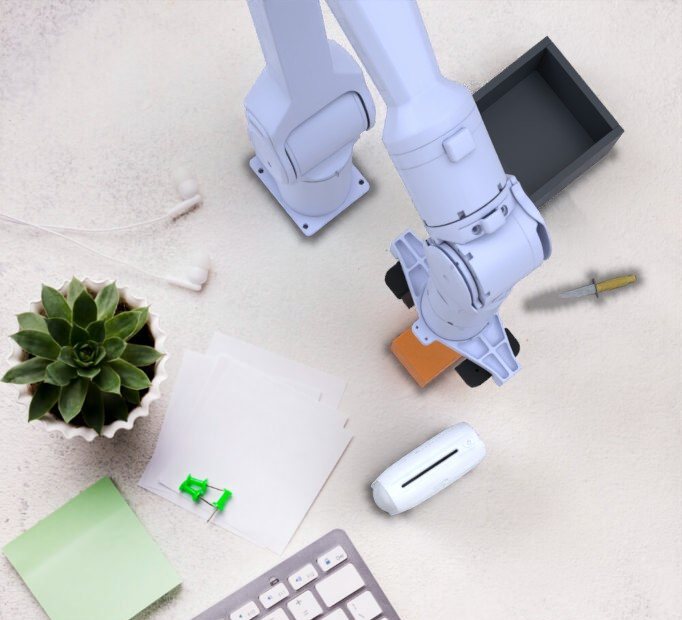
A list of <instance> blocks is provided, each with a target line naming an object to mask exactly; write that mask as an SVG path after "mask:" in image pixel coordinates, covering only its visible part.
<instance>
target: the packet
mask: <svg viewBox="0 0 682 620" xmlns="http://www.w3.org/2000/svg"><path fill="white" fill-rule="evenodd" d="M416 329H417V328H416ZM425 340H426V339H425ZM426 341H427V340H426ZM389 350H390V352H392V353H393V354H394V356H395V357H396V358H397V359H398V361H399V362H400V363H401V364H402V366H403V367H404V368H405V370H406V371H407V372H408V373H409V374H410V376H411V378H413V380H414V381H415V382H416V383H417V385H418V386H419V387H420V388H421V389H423V388H424V387H426V386H427V385H428V384H429V383H431V382H432V381H433V380H434V379H436V378H437V377H438V376H440V375H441V374H442V373H443V372H444V371H446V370H447V369H448V368H450V367H451V366H452V365H453V364H455V363H456V362H457V361H459V360H460V358H462V357H463V356H462V355H461V354H459V353H457V352H456V351H454V350H452V349H451V348H449V347H447V346H446V345H444V344H442V343H441V342H439V341H434V342H432V343H431V344H429V345H423V344H422V343H421V342H420V341H419V340H418V339H417V337H416V336H415V335H414V334H413V332H412V325H411V326H410V327H408V328H407V329H406V330H404V331H403V332H402V333H401V334H399V335H398V336H397V337H396V338H395V339H393V340H392V343H391V345H390V348H389Z"/></svg>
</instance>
